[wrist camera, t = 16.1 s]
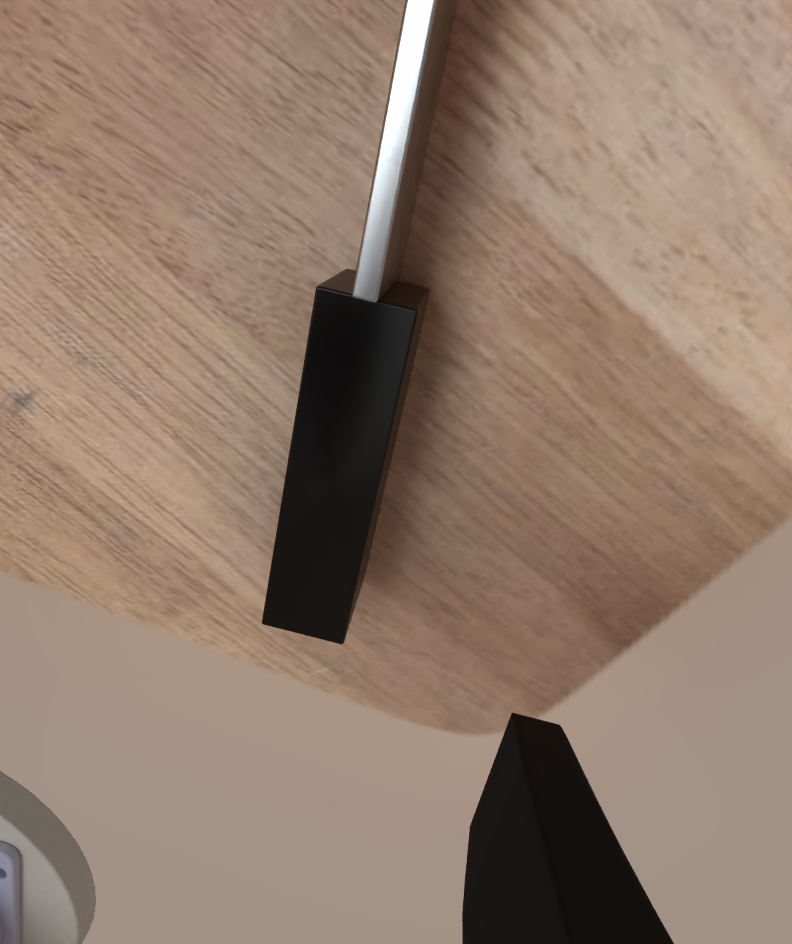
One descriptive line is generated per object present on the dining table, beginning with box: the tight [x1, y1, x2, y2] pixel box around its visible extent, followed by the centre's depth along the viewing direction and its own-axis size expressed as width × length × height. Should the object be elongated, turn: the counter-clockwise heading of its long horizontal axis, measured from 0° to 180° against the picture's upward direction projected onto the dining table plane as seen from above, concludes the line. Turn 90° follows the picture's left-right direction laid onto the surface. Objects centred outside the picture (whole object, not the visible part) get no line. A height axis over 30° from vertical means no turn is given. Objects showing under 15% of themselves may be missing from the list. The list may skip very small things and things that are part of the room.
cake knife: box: [262, 0, 457, 644], centre depth 13 cm, size 20×2×3 cm, turn 168°
